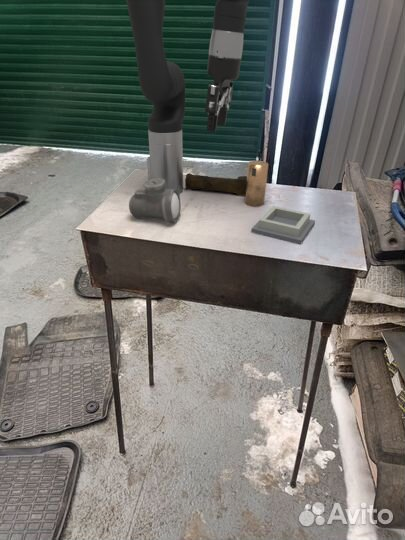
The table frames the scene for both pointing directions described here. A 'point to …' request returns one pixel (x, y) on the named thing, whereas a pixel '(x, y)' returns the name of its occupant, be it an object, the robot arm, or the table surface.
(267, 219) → the duct flange
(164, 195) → the pipe fitting
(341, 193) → the table surface
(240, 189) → the hand tool
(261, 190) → the copper cylinder
